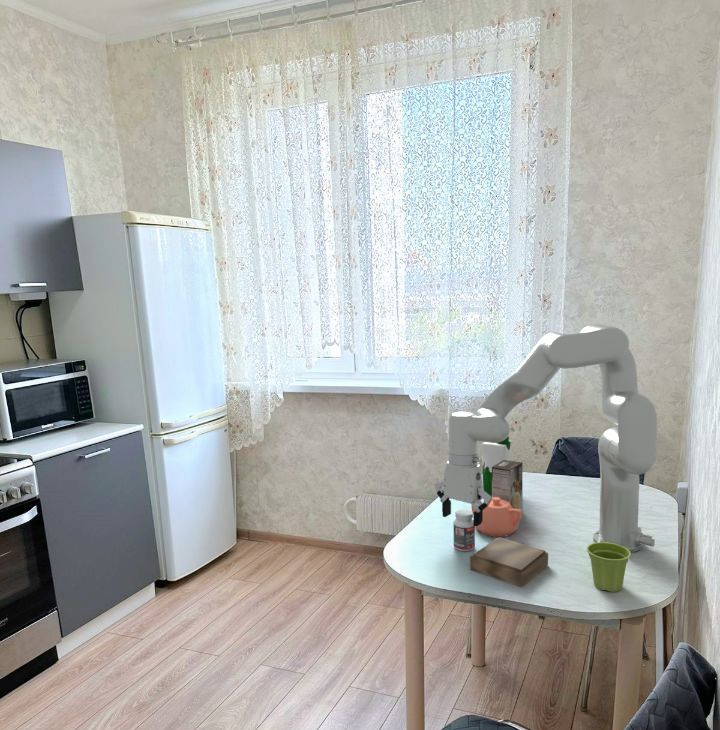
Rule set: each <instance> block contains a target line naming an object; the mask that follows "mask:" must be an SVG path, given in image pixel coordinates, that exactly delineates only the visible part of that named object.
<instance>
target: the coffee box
mask: <svg viewBox="0 0 720 730" xmlns="http://www.w3.org/2000/svg"><path fill="white" fill-rule="evenodd" d="M523 488H524V487H523V462H522V461H515V460H511V461H509V460H503V461H501V462H499V463H498V464H496V465H494V466H493V467H492V496H491V497H492V498H493V497H499V498H501V500H505V501H508V502H509V503H510V504H511V506H512V507H513V509H520V510H521V511H522V512H523V505H524V504H523V503H524V502H523V501H524V500H523V493H524V492H523ZM516 516H517V513H516Z"/></svg>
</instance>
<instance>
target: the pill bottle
mask: <svg viewBox="0 0 720 730" xmlns="http://www.w3.org/2000/svg"><path fill="white" fill-rule="evenodd" d="M454 513H455V519H454V521H453V526H452V527H453V547H454V549H455V550H456V551H457V550H458V551H459V552H470V551H473V550H474V549H475V547H476V527H475V526H474V525H473V516H474V515H473V512H472V510H470V509H466V508H465V509H464V508H463V509H457V510H456V511H455V512H454Z"/></svg>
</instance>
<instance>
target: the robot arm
mask: <svg viewBox="0 0 720 730" xmlns="http://www.w3.org/2000/svg"><path fill="white" fill-rule="evenodd" d="M629 347H630V340H629V337H628V335H627V334H626V332H625V331H623V330H622V329H620V328H618V327H616V326H611V325H610V326H609V325H604V324H596V323H595V324H589V325H587V326H585V327H583V328H582V330H580V332H579V333H578V332H577V333H571V334H570V333H569V334H568V333H561V332H549V333H547V334H545V335H544V336H543V337H541V338H540V340H538V342H537V343H536V344H535V345H534V347H533V348H532V350H531V351H530V352H529V354H527V356H526V357H525V358H524V359H523V361H522V362H521V363H520V364H519V366H518V367H517V368H516V369H515V371H513V373H512V374H511V375H510V376H509V377H507V378H506V379H505V380H504V381H503V382H501V383H500V385H498V386H497V387H495V389H494V390H493V391H492V392H491V393H490V394H489V395H488V396H487V397H486V399H485V400H484V401H483V402H482V404H481V405H480V406H479V407H478V409H477V410H476V412H475V413H473V412H469V411H456V412H452V413H451V414H450V415H449V418H448V460H447V462H446V464H445V469H444V474H443V480H442V481H439V482H436V483H435V484H434V488H435V491H436V495H437V497H439V500H440V503H442V504H441V505H442V506H441V511H442V517H443V518H446V517H448V516H450V515H451V514H452V500H455V501H457V502H458V501H459V502H463V503H466V504H470V505H471V504H472V506H473V507H474V509H475V512H474V515H473V518H472V519H473V525H474V526H475V528H476V526H478V525H480V524H481V523H482V520H483V510H484V509H485V508H486V507H488V506H489V504H490V502H491V500H492V496H490V495H489V494H487V493H486V492H485V491H484V490H483V472H482V469H481V466H480V465H481V464H480V463H482V458H481V457H479V456H478V455H479V454H478V442H482V443H484V442H489V443H499V442H502V441H504V440H505V439H506V438H507V437H508V436H509V435H510V432H511V431H510V430H511V429H510V424H509V422H508V420H507V419H506V417H507V416H508V414H510V412H511V411H512V410H513V409H514V408H515V407H516V406H518V405H519V404H521V403H522V402H525V401H527V400H530V399H533V398H535V397H537V396H539V395H540V394H541V393H542V391H544V389H545V388H546V387H547V386H548V385H549V383H550V381H551V380H552V379H553V378H554V377H555V375H556V374H557V373H558V372H559V370H561V369H563V370H564V369H576V368H585V367H589V366H595V365H599V369H600V373H601V374H600V375H601V376H600V377H601V409H602V414H603V416H604V417H605V418H606V420H608V421H609V422H611V423H612V424H614V425H617V426H614V427H610V428H608V429H606V430H605V431H604V432H603V433H602V434H601V435H600V437H599V439H598V445H597V446H598V447H597V451H598V459H599V468H600V471H599V472H600V473H599V474H600V482H599V483H600V487H599V490H600V491H599V530H598V531H597V530H596V531H595V532H594V533H593V536H592V540H593V543H598V542H606V543H613V544H617V545H620V546H623V547H625V548H627V549H628V550H629V551H630V553H634V552H638V551H640V550H642V549H643V548H644V546H645V545H646V546H648V547H651V548H654V546H655V542H656V541H655V539H654V538H653V535H650V534H649V535H648V534H644V533H643V532H642V527H639V506H640V505H639V501H640V495H639V494H640V475H643V474H646V473H647V472H648V473H649V471H650V470H651V469H652V468H653V467H654V466H655V463H656V460H657V455H658V417H657V411H656V408H655V405H654V404H653V402H652V401H651V400H650V399H649V398H647V397H646V396H645V395H643V394H641V393H639V389H638V377H637V375H638V374H637V373H638V372H637V365H636V361H635V358H634V356H633V354H632V351H631V350H630V348H629ZM450 499H451V500H450ZM482 500H483V502H482ZM472 506H471V507H472Z"/></svg>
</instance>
